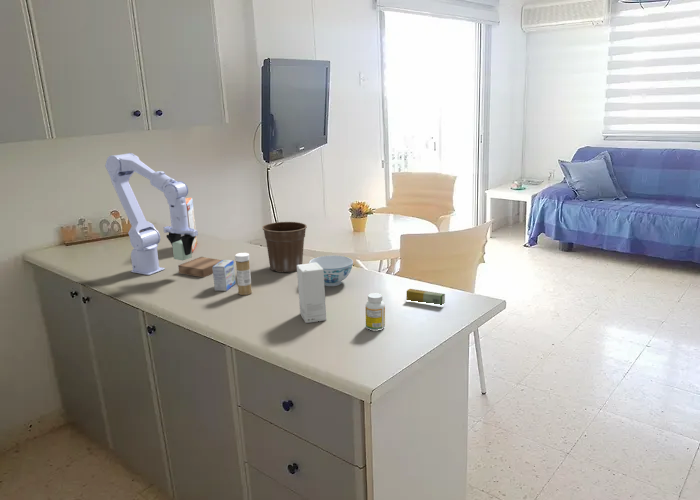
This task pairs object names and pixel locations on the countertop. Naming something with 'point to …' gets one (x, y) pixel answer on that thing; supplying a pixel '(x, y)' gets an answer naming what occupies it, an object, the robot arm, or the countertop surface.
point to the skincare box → (311, 292)
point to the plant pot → (285, 245)
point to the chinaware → (334, 268)
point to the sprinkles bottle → (243, 273)
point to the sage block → (179, 251)
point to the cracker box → (191, 219)
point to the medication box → (425, 296)
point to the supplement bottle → (375, 312)
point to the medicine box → (224, 275)
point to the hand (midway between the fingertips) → (182, 253)
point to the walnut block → (198, 267)
